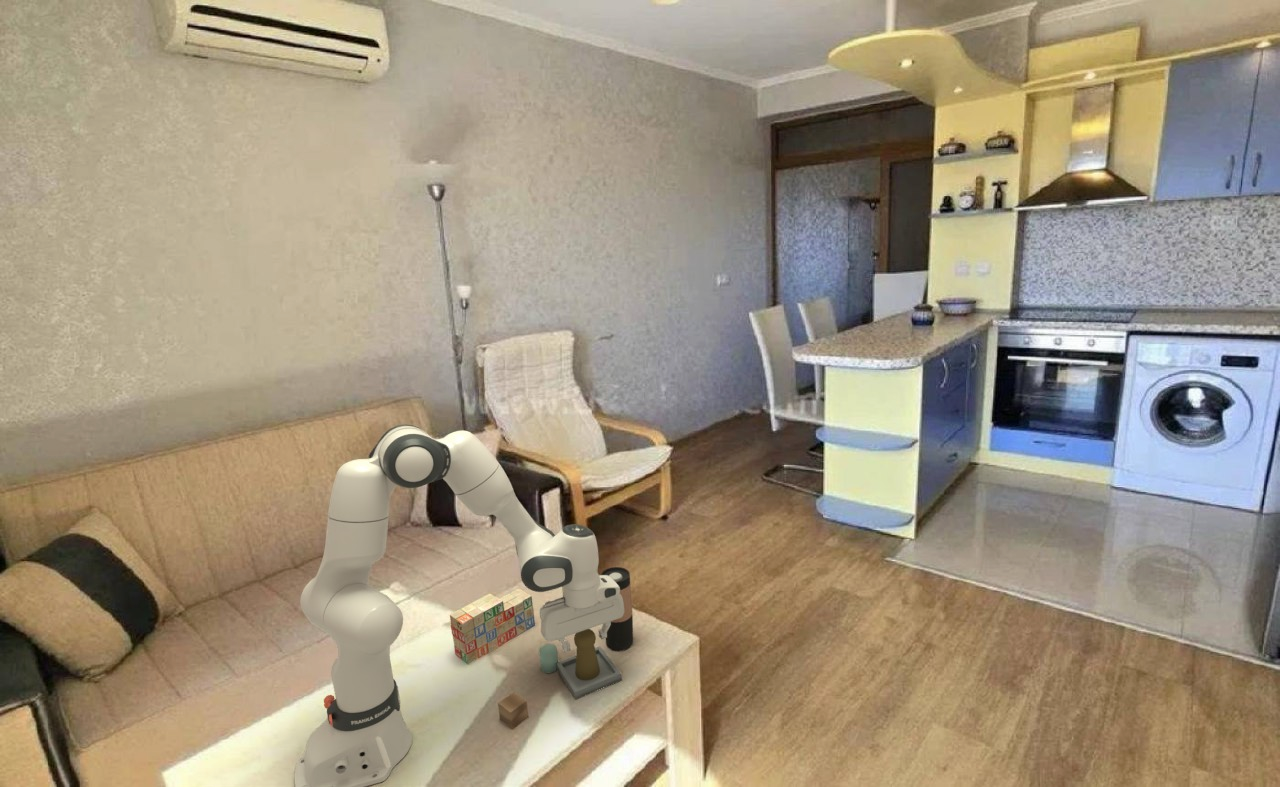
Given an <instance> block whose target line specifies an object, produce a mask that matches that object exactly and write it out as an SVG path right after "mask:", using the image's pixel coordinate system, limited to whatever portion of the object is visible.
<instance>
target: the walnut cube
mask: <svg viewBox="0 0 1280 787" xmlns="http://www.w3.org/2000/svg"><path fill="white" fill-rule="evenodd" d="M497 707H498V708H497V709H498V714H499V721H501V722H502V723H503V724H505V725H506V726H507V727H508V728H510V729H511V730H514V729H515V728H516V727H517V726H519V725H520V724H522V723H523V722H524V721H526V720H527V719H529V709H528V700H527V699H525V698H524V697H522V696H521V695H520V694H518V693H517V692H515V691H513V692H512V693H510V694H509V695H507V696H506V697H505V698H503V699H502V700H500V701H499V702H497Z"/></svg>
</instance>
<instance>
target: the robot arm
mask: <svg viewBox="0 0 1280 787" xmlns="http://www.w3.org/2000/svg"><path fill="white" fill-rule="evenodd" d="M442 479H443V481H444V482H446V484H447V485H448V486H449V488H450V489H451V490H452V492H453V494H455V496H456V497H457V498H458V500H459V501H460V502H461V503H462V504H463V505H464V507H466V509H468V510H469V511H470V512H471V513H472V514H473V515H476V516H480V517H487V516H488V517H489V516H494V517H496V518H497V520H499V522H500V523H501V524H502V526H503V527H504V528H505V530H506V531H507V532H508V534H509V535H510V536H511V537H512V538H513V540H514V544H515V551H516V555H517V559H518V565H519V572H520V580H521V581H522V584H523V585H524V586H525V587H526V588H527V589H528V590H530V591H533V592H536V593H545V592H548V591H551V590H556V589H559V588H562V590H561V592H562V596H561V597H558V598H555V599H554V600H549V601H546V602H545V603H544V604H543V605H542V606H541V607H540V609H539V618H540V620H541V622H540V632H541V633H540V634H541V636H542V637H543V639H544V640H545V641H547V642H548V643H550V642H554V641H557V640H558V641H559V642H560V644H561V647H562V650H563V652H564V653H566V652H569V651H571V650H572V649H571V644H570V643H569V641H568V640H566V637H568V636H572V635H575V634H576V633H578V632H581V631H584V630H587V629H593V628H594V627H598V626H601V625H602V626H601V629H598V637H599V638H600V639H601V640H603V639H605V638H607V631H608V629H609V627H610V625H611V621H613V620H616V619H619V618H621V617H622V616H623V614H624V603H623V598H622V596H621V595H620V594H619V593H620V587H619V586H618V584H617V583H616V582H615V581H614V580H613V579H612V578H611V577H609V576H607V575H601V574H599V571H598V570H599V569H598V567H599V563H600V561H599V547H598V542H597V537H596V536H595V533H594V532H593V530H591V529H590V528H589V527H588V526H585V525H581V524H575V523H574V524H567V525H565V526H563V527H562V528H561V529H560V530H559V532H557V534H555V533H554V532H553V531H552V530H550V529H549V528H547V527H546V526H544V525H542V524H540V523H539V522H537V521H536V520H535V519H534V518H533V517H532V515H531V514H530V513H529V512H528V510H527V509H526V508H525V506H524V505H523V504H522V503H521V500H519V499H518V497H517V496H516V493H515V491H514V488H513V485H512V483H511V481H510V478H509V477H508V476H507V473H506V472H505V470H504V468H503V467H502V465H501V464H500V463H499V461H498V459H497V458H496V457H495V455H494V454H493V453H492V452H491V451H490V450H489V449H488V447H487V446H486V445H485V444H484V443H483V442H482V441H481V440H480V439H479V438H478V437H477V436H476V435H475V434H473V433H472V432H470V431H467V430H456V431H453V432H451V433H448V434H446V435H445V436H444V437H442V438H433V437H432V436H431V435H429V434H428V432H426V431H424V429H422V428H420V427H418V426H416V425H412V424H407V423H406V424H400V425H399V424H398V425H395V426H393V427H391V428H389V429H388V430H387V431H386V432H385V433H383V434H382V436H381V437H380V439H379V440H378V441H377V443H376V444H375V446H373V448H372V450H371V451H370V452H369V454H368V458H357V459H353V460H349V461H347V462H345V463H344V464H342V465H341V466H340V467H339V468H338V470H337V472H336V474H335V477H334V480H333V485H332V489H331V493H330V497H329V504H328V511H327V524H326V532H325V533H326V535H325V542H324V543H325V544H324V550H323V556H322V559H321V562H320V564H319V565H320V566H319V568H318V571H317V572H316V575H315V576H314V577H313V578H312V579H311V580H310V581H309V582H308V583H307V584H306V585H305V587H304V588H303V589H302V593H301V594H300V601H299V603H300V604H299V605H300V608H301V610H302V612H303V614H304V615H305V617H306V619H308V621H309V622H310V623H311V625H313V626H314V627H316V628H318V629H319V630H321V631H323V632H324V633H325V634H327V635H328V636H329V637H331V639H332V640H333V642H334V643H335V645H336V648H337V658H336V659H335V660H334V661H333V663H332V665H331V668H330V675H331V676H330V677H331V681H332V685H333V692H334V695H332V694H327V695H326V696H325V697H324V699H323V703H324V704H323V706H324V709H326V716H327V718H326V719H325V720H324V721H323V722H322V723H321V724H320V725H319V726H318V727H317V728H315V730H313V731H312V733H310V735H309V736H308V739H307V742H306V744H305V750H304V751H303V753H302V754H301V755H300V756H299V758H298V760H297V762H296V765H295V769H294V787H367V786H368V787H369V786H372V785H376V784H379V783H382V782H384V781H385V780H387V779H388V778H389V776H390V774H391V773H392V771H393V769H394V768H395V767H396V765H397V764H398V763H400V762H401V760H403V758H404V757H406V755H407V754H408V752H409V750H410V748H411V746H412V742H413V735H412V732H411V730H410V728H409V727H408V725H407V723H406V721H405V720H404V719H405V718H404V717H403V716H404V715H403V714H402V711H401V697H400V692H399V686H398V685H397V682H396V679H394V674H393V668H392V662H391V646H392V645H393V644H394V643H395V641H396V640H397V639H398V637H399V636H400V634H401V632H402V629H403V626H404V625H403V624H404V615H403V612H402V610H401V608H400V607H399V606H398V605H397V603H395V602H394V600H392V599H391V597H389V596H388V595H387V594H385V593H384V592H381V591H379V590H377V589H375V588H373V587H371V585H370V581H369V579H370V578H369V577H370V574H371V570H372V568H373V566H374V564H376V563H378V561H380V560H381V559H382V558H383V556H384V555H385V553H386V550H387V538H388V528H389V519H390V518H389V516H390V501H391V498H392V494H393V492H394V490H395V488H396V487H397V486H399V487H401V488H404V489H416V488H420V487H423V486H427V485H428V484H430V483H433V482H437V481H439V480H442Z"/></svg>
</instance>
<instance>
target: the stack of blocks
mask: <svg viewBox="0 0 1280 787" xmlns="http://www.w3.org/2000/svg"><path fill="white" fill-rule="evenodd" d="M534 612H535V611H534V605H533V596H532V595H531V594H529V593H527V592H525V591H524V590H522V589H520V588H517V589H515V590H513V591H512V592H508V593H507V594H505V595H503V596H501V597H500V598H498V597H497V596H495V595H493V594H492V593H488V594H486V595H484V596H482V597H480V598H478V599H476V600H475V601H473V602H471V603H469V604H467V605H465V606H462V608H460V609H457V610H455V611H454V612H452V613H450V614H449V620H450V624H451V625H450V628H451V629H450V630H451V635H452V638H453V639H452V640H453V647H454V654H455V655H456V657H458V658H459V659H460V660H462V661H463V662H465V664H467V665H470V664H472V663H474V662H475V661H477V660H479V659H481V658H482V657H484V656H486V655H488V654H490V653H491V652H493V651H495V650H497V649H498V648H499V647H501V646H502V645H504V644H505V643H507V642H508V641H510V640H512V639H514V638H515V637H517V636H520V635H521V634H523V633H524V632H525V631H528V630H529V629H530V628H532V627H534V626H535V625H536V622H535V613H534Z"/></svg>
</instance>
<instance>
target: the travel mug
mask: <svg viewBox="0 0 1280 787" xmlns="http://www.w3.org/2000/svg"><path fill="white" fill-rule="evenodd" d="M600 575H607V576H609V577H611V578H612V579H613V580H614V581H615V582H616V583H617V584H618V586H619V587H620V593H619V594H620V595H621V596H622V598H623V603H624V614H623V616H622V617H621V618H619V619H616V620H613V621H611V625H610V627H609V629H608V631H607V638H604V639H605V645H606V647H607V648H608V650H610V651H613V652H622V651H623V652H624V651H627V650H628V649H630V648H631V647H632V646H633V643H634V627H633V626H634V625H633V622H634V621H633V616H634V615H633V603H632V589H631V574H630V571H629V570H628V569H626V568H624V567H622V566H614V567H609V568H606V569H604V570H603V571H602V572H601V573H600Z"/></svg>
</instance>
